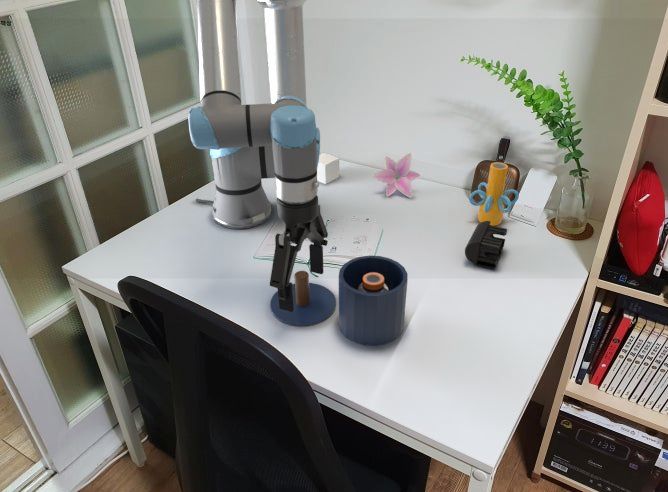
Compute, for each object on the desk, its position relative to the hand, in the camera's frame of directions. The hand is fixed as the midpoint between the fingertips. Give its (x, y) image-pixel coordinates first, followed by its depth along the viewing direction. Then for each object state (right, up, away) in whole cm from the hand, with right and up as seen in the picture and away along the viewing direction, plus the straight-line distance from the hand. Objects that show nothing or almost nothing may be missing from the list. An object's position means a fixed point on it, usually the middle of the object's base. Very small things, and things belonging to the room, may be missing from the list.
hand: (302, 290), depth 113 cm
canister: (+14, -7, -3) cm, 16 cm away
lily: (+25, +27, +43) cm, 56 cm away
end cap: (+41, +7, +16) cm, 45 cm away
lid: (0, -3, +2) cm, 4 cm away
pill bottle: (+14, -7, -3) cm, 16 cm away
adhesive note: (+5, +32, +51) cm, 60 cm away
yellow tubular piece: (+47, +17, +29) cm, 58 cm away
